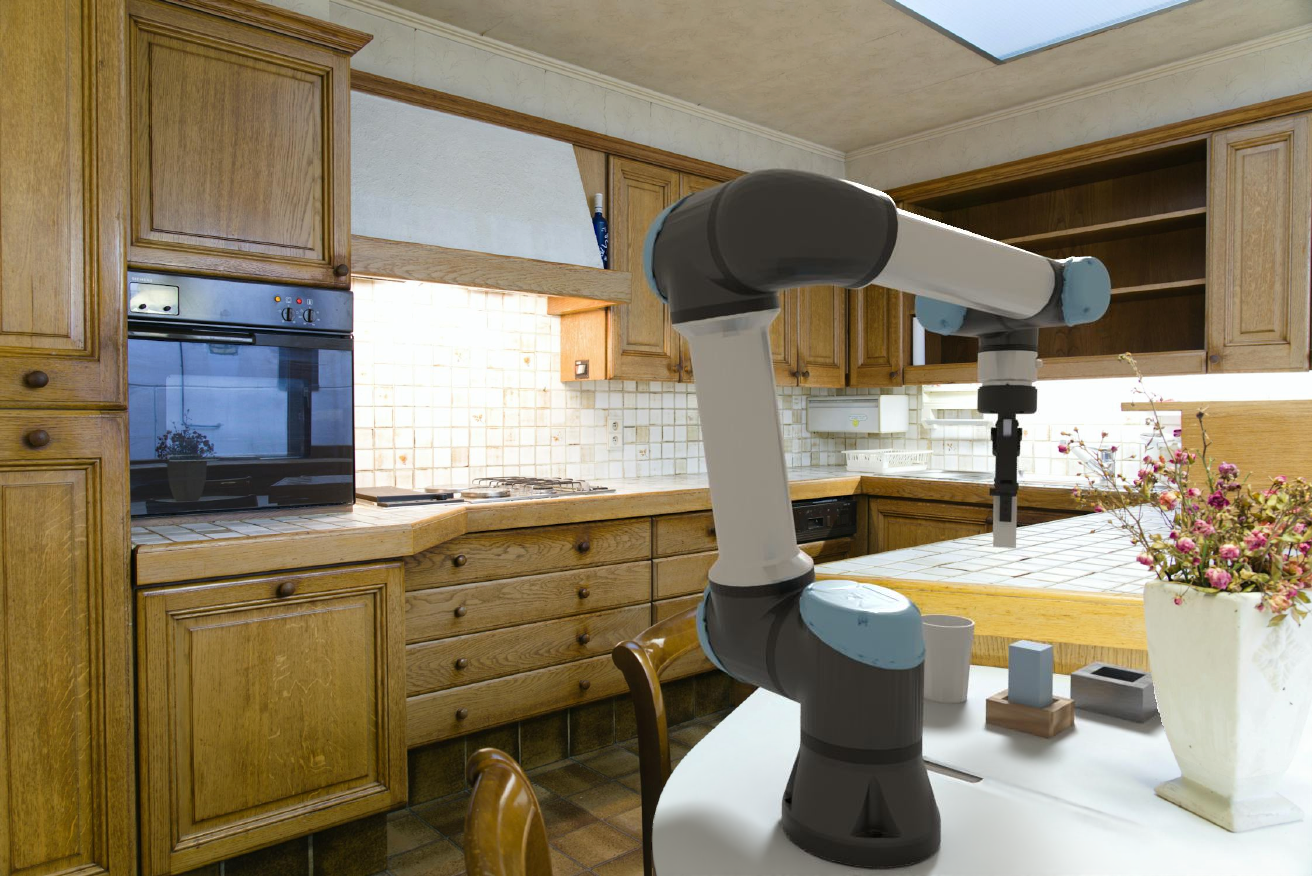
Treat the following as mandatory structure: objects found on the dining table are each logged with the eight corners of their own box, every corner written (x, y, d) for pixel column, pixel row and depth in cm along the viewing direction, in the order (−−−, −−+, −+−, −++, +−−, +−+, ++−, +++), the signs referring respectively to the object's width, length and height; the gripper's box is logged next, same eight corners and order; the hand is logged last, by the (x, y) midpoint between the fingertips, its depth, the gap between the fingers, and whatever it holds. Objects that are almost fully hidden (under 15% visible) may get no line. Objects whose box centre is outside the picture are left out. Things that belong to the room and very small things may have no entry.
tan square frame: (1048, 742, 105) (1049, 714, 105) (985, 725, 111) (985, 698, 111) (1074, 727, 111) (1074, 700, 111) (1012, 711, 117) (1013, 686, 117)
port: (1142, 727, 111) (1143, 688, 111) (1070, 709, 118) (1070, 673, 118) (1164, 711, 117) (1165, 674, 117) (1094, 695, 124) (1095, 661, 124)
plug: (1039, 730, 108) (1040, 651, 108) (1007, 722, 111) (1008, 645, 111) (1052, 722, 111) (1053, 645, 111) (1021, 715, 114) (1022, 639, 114)
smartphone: (885, 730, 111) (1002, 761, 100) (885, 736, 111) (1002, 768, 100) (855, 746, 106) (975, 780, 95) (855, 752, 106) (975, 787, 95)
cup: (982, 714, 118) (983, 627, 118) (923, 714, 118) (924, 626, 118) (962, 696, 126) (963, 614, 126) (907, 695, 126) (908, 613, 126)
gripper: (1042, 379, 104) (1038, 554, 104) (1033, 389, 127) (1029, 533, 127) (976, 379, 107) (972, 550, 107) (978, 389, 130) (975, 530, 130)
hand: (1003, 541), depth 117 cm, fingers open, 13 cm apart
